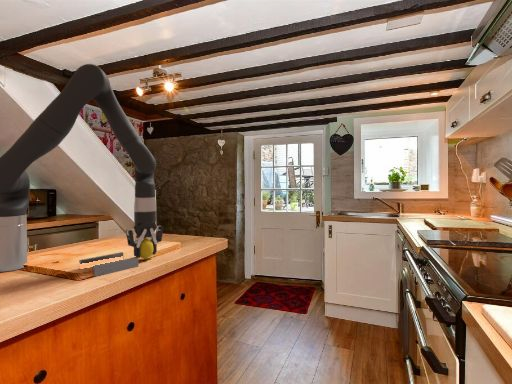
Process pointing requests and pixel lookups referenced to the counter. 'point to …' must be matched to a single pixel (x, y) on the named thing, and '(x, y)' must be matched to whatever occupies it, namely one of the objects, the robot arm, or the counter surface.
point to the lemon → (146, 248)
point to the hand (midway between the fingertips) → (145, 255)
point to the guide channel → (111, 264)
